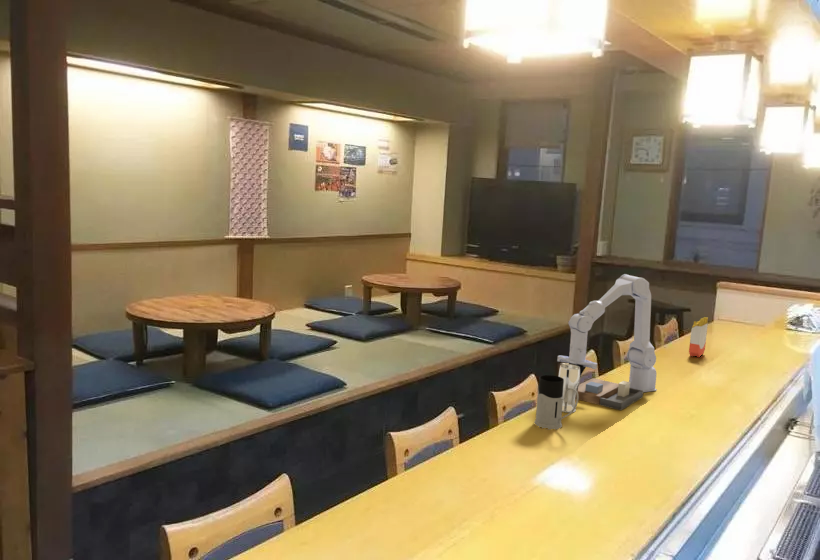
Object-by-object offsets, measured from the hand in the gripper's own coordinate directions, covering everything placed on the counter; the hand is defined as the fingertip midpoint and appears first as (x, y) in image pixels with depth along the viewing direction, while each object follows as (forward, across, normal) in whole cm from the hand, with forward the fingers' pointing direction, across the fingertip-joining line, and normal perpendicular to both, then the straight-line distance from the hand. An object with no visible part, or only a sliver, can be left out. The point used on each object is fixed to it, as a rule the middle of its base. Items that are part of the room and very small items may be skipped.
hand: (575, 384), depth 248 cm
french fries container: (+4, +14, +98) cm, 99 cm away
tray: (+4, +16, +6) cm, 17 cm away
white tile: (0, +13, +10) cm, 16 cm away
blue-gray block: (+1, +7, 0) cm, 7 cm away
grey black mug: (+4, +11, -36) cm, 37 cm away
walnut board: (+4, +6, +6) cm, 9 cm away
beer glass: (+4, +6, -18) cm, 19 cm away
